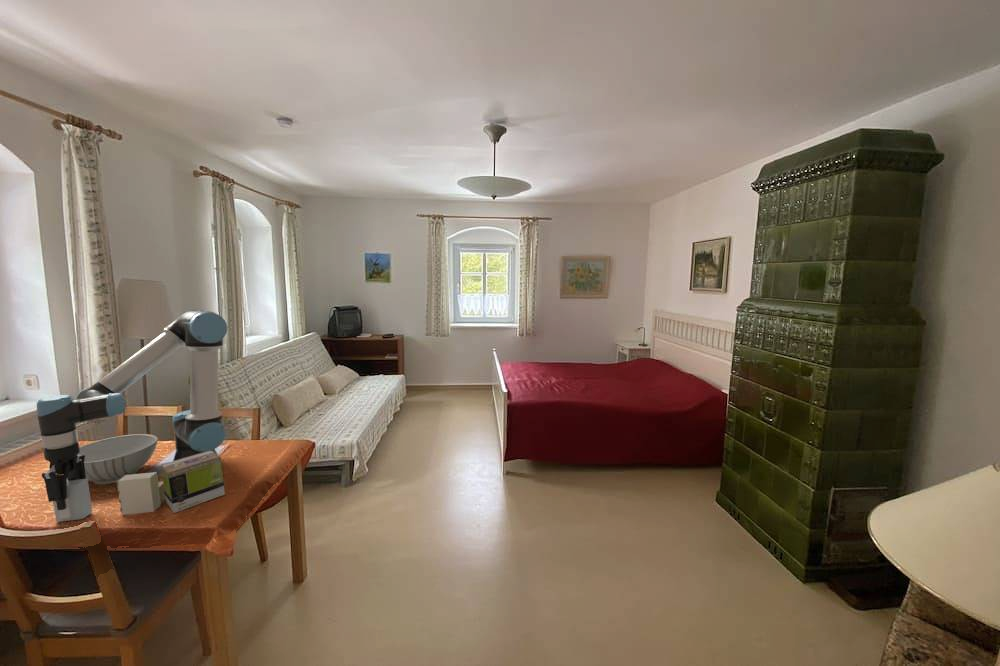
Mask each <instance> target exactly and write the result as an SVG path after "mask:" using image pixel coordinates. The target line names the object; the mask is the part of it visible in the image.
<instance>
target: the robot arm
mask: <svg viewBox="0 0 1000 666" xmlns="http://www.w3.org/2000/svg"><path fill="white" fill-rule="evenodd" d="M227 332H228V324H227V321H226V320H225V319H224V318H223V317H222V316H221V315H220V314H218V313H216V312H213V311H209V310H202V309H193V310H192V309H191V310H189V311H186V312H184V313H182V314H181V315H179V316H178V317H177V318H176V319H175V320H173V321H172V322H171V323H169V324H168V325H167V326H166V327H164V328H163V332H162V333H161V334H159V335H158V336H157V337H156V338H154V339H153V340H152V341H150V342H149V343H148V344H147V345H145V346H144V347H142V348H141V349H140V350H138V351H137V352H135V353H134V354H133V355H131V357H129V358H128V359H126V360H125V361H123V362H122V363H121V364H120V365H119V366H117V367H116V368H114V369H113V370H112V371H111V372H108V373H107V374H106V375H105V376H103V377H102V378H101V379H99V380H98V381H97V382H96V383H94V384H93V385H91V386H90V387H86V388H83V389H82V390H80V391H79V392H78V393H77V395H76V399H73V397H72V396H71V395H69V394H60V395H59V394H58V395H51V396H47V397H43V398H41V399H39V400H38V401H37V402H36V411H37V412H36V413H37V414H36V415H37V419H38V424H39V425H38V426H39V431H40V436H41V442H42V448H44V449H43V454H44V460H45V461H48V462H49V467H48V468H49V469H48V471H47V472H42V474H41V478H42V479H43V480H44V484H45V489H46V495H47V499H48V502H49V503H50V502H53V501H56V503H57V509H58V511H59V517H60V519H63V518H70V517H72V513H71V506H70V500H69V497H68V498H66V495H67V481H68V480H79V479H86V474H85V465H84V459H85V455H78V456H77V454H78V453H79V452H80V449H79V447H80V444H79V442H78V440H79V436H78V430H77V424H78V423H85V422H90V421H94V420H101V419H106V418H110V417H111V418H112V417H115V416H119V415H123V414H124V413H125V412H126V409H127V406H126V400H125V396H124V395H123V392H124V391H126V390H127V389H128V388H130V387H131V386H132V385H134V383H136V382H137V381H138V380H139V379H141V378H142V377H144V376H145V375H146V374H147V373H149V372H150V371H151V370H152V369H154V368H155V367H157V366H158V365H159V364H160V363H161V362H162V361H164V360H165V359H167V358H168V357H169V356H171V355H172V353H173V354H174V352H175V351H177V350H178V349H179V348H180V347H185V348H187V349H188V350H189V353H190V354H189V355H190V357H189V358H190V360H189V361H190V365H189V366H190V368H189V369H190V375H189V379H190V381H189V384H190V385H189V387H190V390H189V391H190V392H189V393H190V394H189V396H190V397H189V401H190V402H189V406H190V407H189V409H188V410H184V411H180V412H177V413H175V414H174V415H173V416H172V427H173V428H172V429H173V434H174V443H175V453H174V456H173V459H172V461H175V460H179V459H182V458H185V457H189V456H192V455H196V454H199V453H203V452H206V451H209V450H212V451H213V452H214V453H216V454H217V455H218V452H217V450H216V449H217V448H219V447H220V446H221V445H222V444H223V443H224V441H225V439H226V437H227V430H226V427H225V426H224V424H223V413H222V412H221V411H220V410H219V409H218V405H219V404H218V394H219V393H218V392H219V389H218V388H219V386H218V383H219V379H218V378H219V350H220V349H221V348H222V347H224V346H223V345H224V344H223V343H224V338H225V336H226V335H227ZM218 456H219V455H218ZM78 462H79V463H78Z"/></svg>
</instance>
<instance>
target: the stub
mask: <svg viewBox="0 0 1000 666" xmlns="http://www.w3.org/2000/svg"><path fill="white" fill-rule="evenodd" d="M68 497H69V500H70V506H71V513H72V517H70V518H63V519H60V517H59V511H58V509H57V503H56V501H53V504H52V505H53V510H54V516H55V521H56V523H58V522H59V523H60V522H68V521H75V520H83V519H85V518H86V517H88V516H89V515H90V514H92V513H93V507H92V501H91V494H90V487H89V481H88V479H79V480H67V495H66V498H68Z"/></svg>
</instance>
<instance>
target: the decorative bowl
mask: <svg viewBox="0 0 1000 666" xmlns="http://www.w3.org/2000/svg"><path fill="white" fill-rule="evenodd" d="M158 441H159V439H158V436H156V435H153V434H148V433H147V434H145V433H138V434H137V433H135V434H125V435H119V436H118V435H117V436H114V437H108V438H104V439H100V440H96V441H93V442H89V443H86V444H83V445H79V449H80V452H79V453H78V454H77V456H78V455H85V459H84V465H85V474H86V479H88V482H93V483H94V484H95V485H110V484H114V483H117V480H118V479H120V478H121V477H122V476H124V475H132V474H138V471H139V470H140V469H141V468H143V466H145V465H146V464H147V463H148V462H149V461H150V459H151V458H152V456H153V455H154V453H155V450H156V448H157V445H158ZM78 463H79V462H78Z"/></svg>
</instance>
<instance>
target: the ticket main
mask: <svg viewBox="0 0 1000 666" xmlns="http://www.w3.org/2000/svg"><path fill="white" fill-rule="evenodd" d="M116 486H117V494H118V497H119V498H118V501H119V505H120V513H121V516H127V515H128V516H129V515H136V514H144V513H145V514H146V513H154V512H156V511H157V510H158V508H160V506H161V505H162V503H163V502H165V501H166V498H165V492H164V484H163V481H159V478H158V472H157V471H154V472H145V473H142V472H141V473H136V474H132V475H124V476H122V477H121V478H120V479H118V480H117V482H116Z"/></svg>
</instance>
